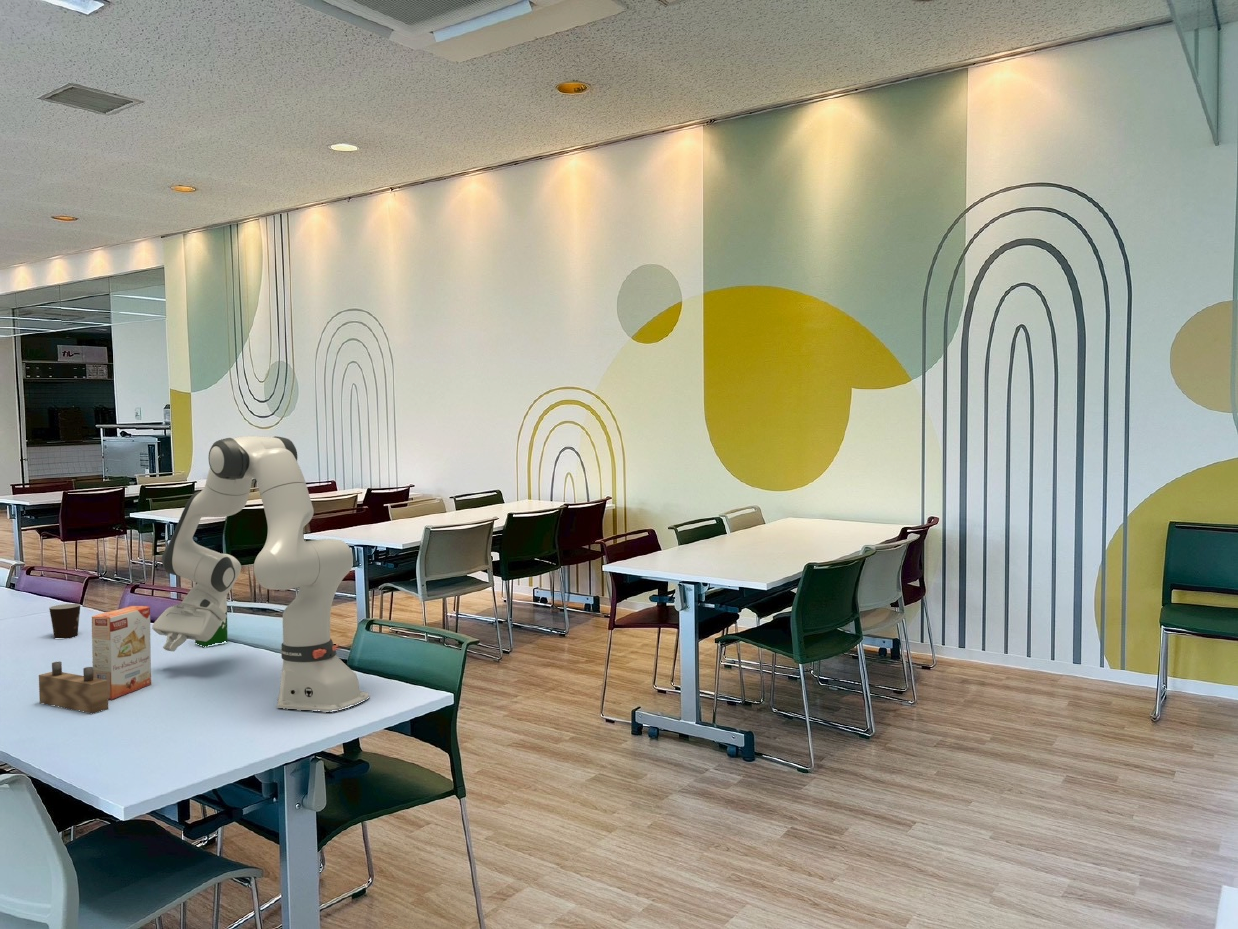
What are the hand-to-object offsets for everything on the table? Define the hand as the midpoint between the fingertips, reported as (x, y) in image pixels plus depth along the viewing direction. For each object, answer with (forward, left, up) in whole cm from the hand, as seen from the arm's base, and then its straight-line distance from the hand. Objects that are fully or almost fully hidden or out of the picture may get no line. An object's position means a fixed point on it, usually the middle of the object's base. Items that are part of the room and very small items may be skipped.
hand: (168, 649), depth 240 cm
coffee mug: (+75, -21, -8) cm, 78 cm away
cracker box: (0, +13, -8) cm, 15 cm away
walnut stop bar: (0, +26, -8) cm, 27 cm away
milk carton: (+22, -32, -8) cm, 39 cm away
